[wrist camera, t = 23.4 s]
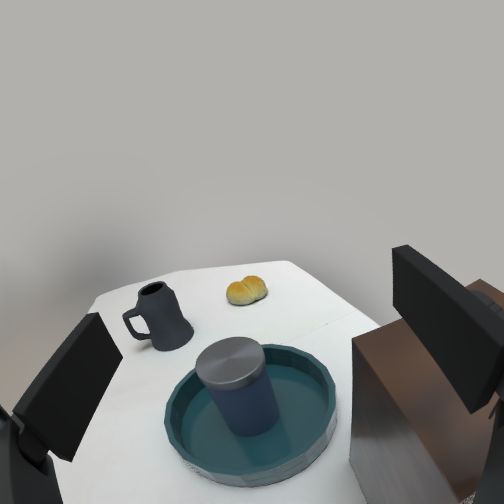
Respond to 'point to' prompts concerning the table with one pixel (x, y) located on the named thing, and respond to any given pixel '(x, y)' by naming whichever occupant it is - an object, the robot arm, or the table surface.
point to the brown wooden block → (413, 421)
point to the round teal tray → (264, 445)
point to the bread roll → (246, 290)
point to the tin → (239, 384)
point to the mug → (160, 317)
